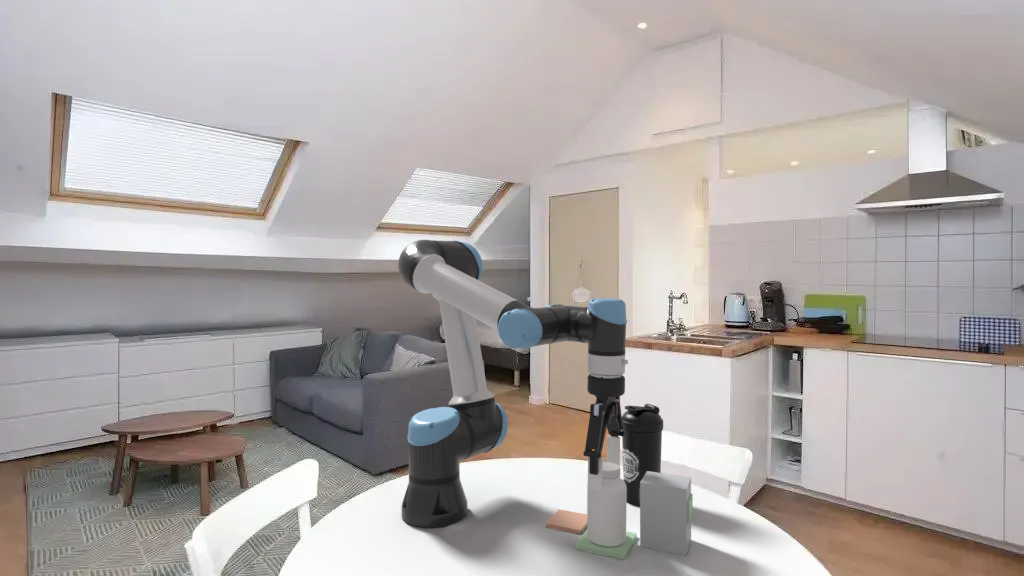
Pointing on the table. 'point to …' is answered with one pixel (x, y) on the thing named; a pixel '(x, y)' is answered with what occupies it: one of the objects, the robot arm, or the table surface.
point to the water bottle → (640, 446)
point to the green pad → (614, 551)
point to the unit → (665, 512)
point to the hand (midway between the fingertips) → (604, 477)
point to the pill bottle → (607, 509)
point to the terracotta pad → (568, 521)
